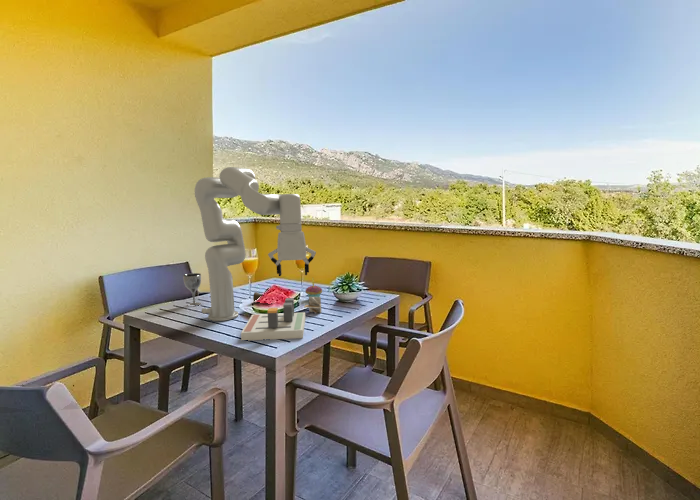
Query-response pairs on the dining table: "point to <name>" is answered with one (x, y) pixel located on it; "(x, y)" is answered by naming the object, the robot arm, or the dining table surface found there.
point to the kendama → (258, 295)
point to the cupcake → (313, 290)
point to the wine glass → (192, 284)
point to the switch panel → (287, 325)
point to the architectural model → (314, 304)
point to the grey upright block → (272, 317)
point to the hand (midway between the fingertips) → (293, 275)
